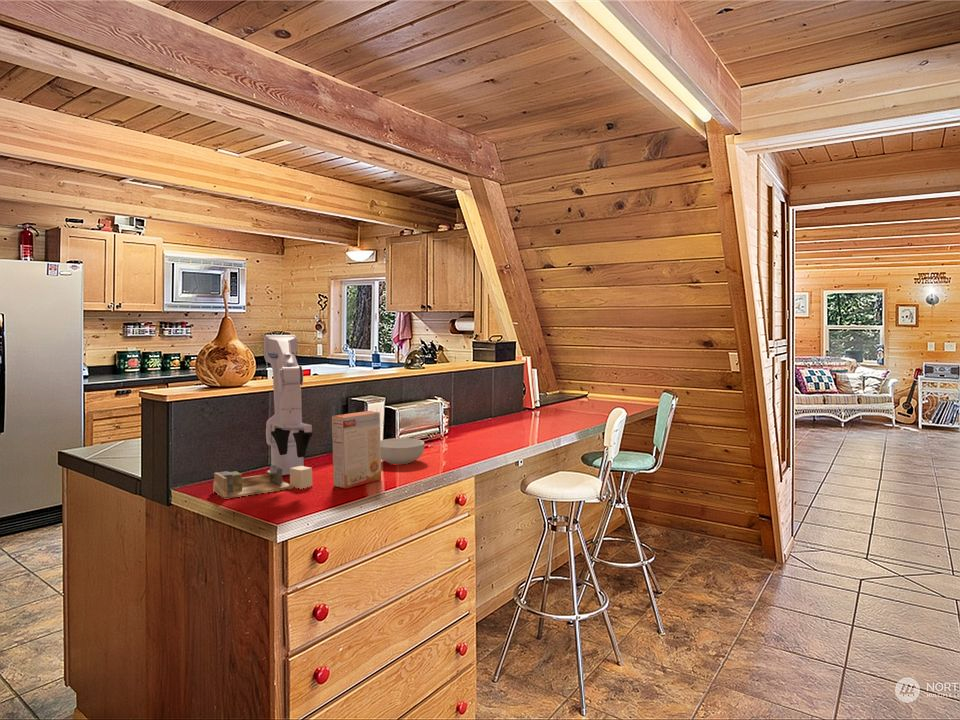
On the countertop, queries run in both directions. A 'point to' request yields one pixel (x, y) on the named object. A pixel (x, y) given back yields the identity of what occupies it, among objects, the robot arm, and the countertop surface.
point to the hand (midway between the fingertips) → (292, 455)
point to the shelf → (244, 484)
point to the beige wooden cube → (301, 477)
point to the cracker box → (356, 449)
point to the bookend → (276, 474)
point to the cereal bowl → (401, 450)
